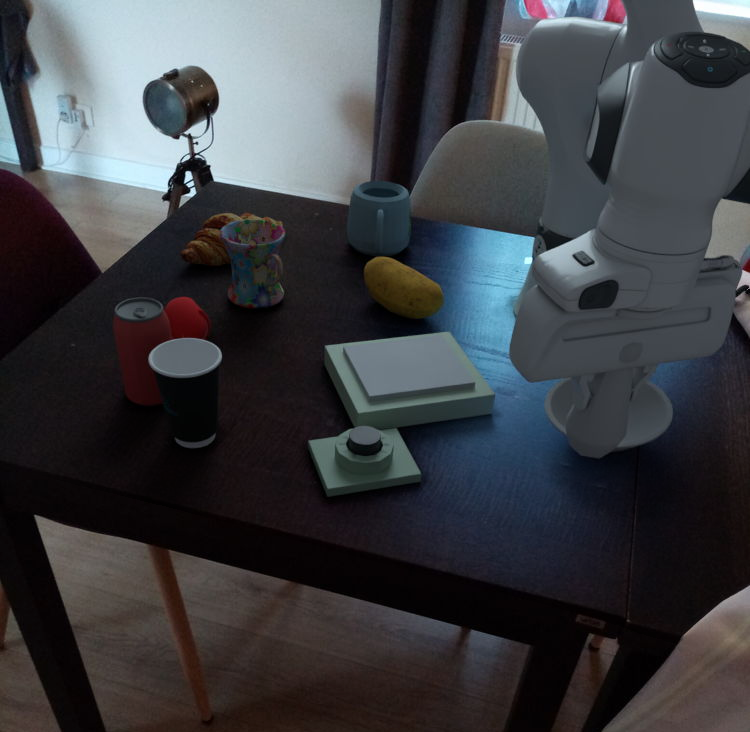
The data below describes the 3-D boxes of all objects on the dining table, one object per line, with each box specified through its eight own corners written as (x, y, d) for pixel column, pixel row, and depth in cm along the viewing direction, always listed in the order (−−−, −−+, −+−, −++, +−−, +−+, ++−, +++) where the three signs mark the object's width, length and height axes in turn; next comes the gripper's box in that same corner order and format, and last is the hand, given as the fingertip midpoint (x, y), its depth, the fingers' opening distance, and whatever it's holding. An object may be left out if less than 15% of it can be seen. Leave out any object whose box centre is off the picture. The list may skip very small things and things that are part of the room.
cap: (219, 350, 108) (216, 310, 104) (177, 360, 106) (172, 320, 102) (198, 323, 113) (194, 285, 109) (158, 332, 111) (152, 293, 107)
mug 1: (214, 295, 120) (207, 227, 113) (265, 280, 124) (262, 214, 117) (256, 327, 113) (252, 258, 106) (309, 310, 118) (308, 242, 111)
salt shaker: (620, 468, 75) (659, 350, 66) (560, 459, 75) (591, 341, 67) (618, 432, 79) (655, 317, 70) (561, 423, 80) (590, 308, 71)
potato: (413, 338, 113) (418, 293, 108) (352, 299, 121) (353, 255, 116) (449, 324, 117) (455, 280, 112) (387, 287, 125) (390, 244, 120)
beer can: (133, 413, 96) (117, 326, 88) (120, 386, 100) (103, 300, 92) (186, 401, 98) (174, 315, 91) (170, 375, 103) (158, 291, 95)
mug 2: (410, 273, 129) (415, 213, 122) (343, 269, 129) (345, 209, 122) (408, 235, 140) (413, 178, 133) (347, 232, 140) (349, 175, 133)
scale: (446, 350, 111) (450, 326, 109) (492, 413, 100) (496, 389, 97) (324, 364, 107) (324, 340, 104) (357, 433, 95) (358, 407, 93)
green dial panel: (395, 435, 95) (397, 415, 93) (420, 481, 89) (423, 461, 87) (308, 448, 93) (307, 428, 91) (327, 497, 86) (327, 476, 84)
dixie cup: (147, 445, 91) (133, 364, 84) (183, 410, 97) (173, 331, 90) (207, 463, 90) (198, 382, 82) (240, 426, 95) (234, 347, 88)
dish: (616, 499, 89) (628, 465, 85) (511, 443, 95) (518, 410, 92) (683, 433, 99) (696, 401, 96) (584, 387, 106) (593, 355, 102)
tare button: (374, 435, 91) (375, 423, 90) (384, 454, 88) (385, 442, 87) (344, 440, 90) (345, 427, 89) (353, 459, 87) (354, 446, 86)
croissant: (270, 248, 141) (254, 203, 138) (306, 238, 134) (290, 190, 131) (176, 283, 128) (156, 234, 125) (210, 274, 121) (190, 221, 118)
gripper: (725, 237, 69) (677, 370, 78) (515, 259, 64) (491, 398, 73) (772, 269, 65) (715, 406, 74) (550, 296, 60) (520, 438, 69)
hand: (602, 402), depth 74 cm, fingers closed on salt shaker, 3 cm apart
